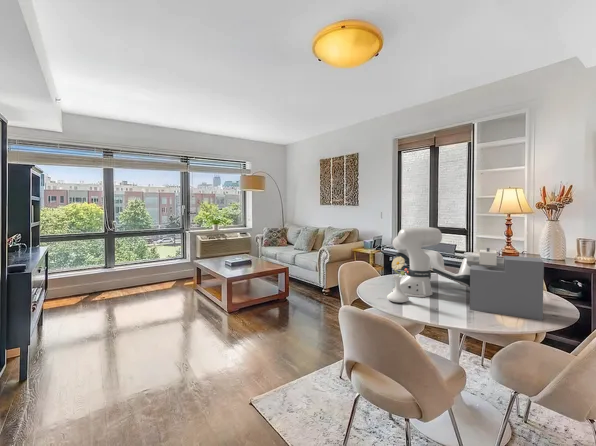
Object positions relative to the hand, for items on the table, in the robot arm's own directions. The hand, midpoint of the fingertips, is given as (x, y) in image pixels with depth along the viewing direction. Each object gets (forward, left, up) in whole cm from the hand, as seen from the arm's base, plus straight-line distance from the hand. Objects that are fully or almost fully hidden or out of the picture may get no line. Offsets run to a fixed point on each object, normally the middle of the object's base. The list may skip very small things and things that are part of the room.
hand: (487, 256), depth 157 cm
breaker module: (-2, -5, -2) cm, 6 cm away
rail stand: (+2, -14, -24) cm, 28 cm away
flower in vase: (-46, -8, -25) cm, 53 cm away
